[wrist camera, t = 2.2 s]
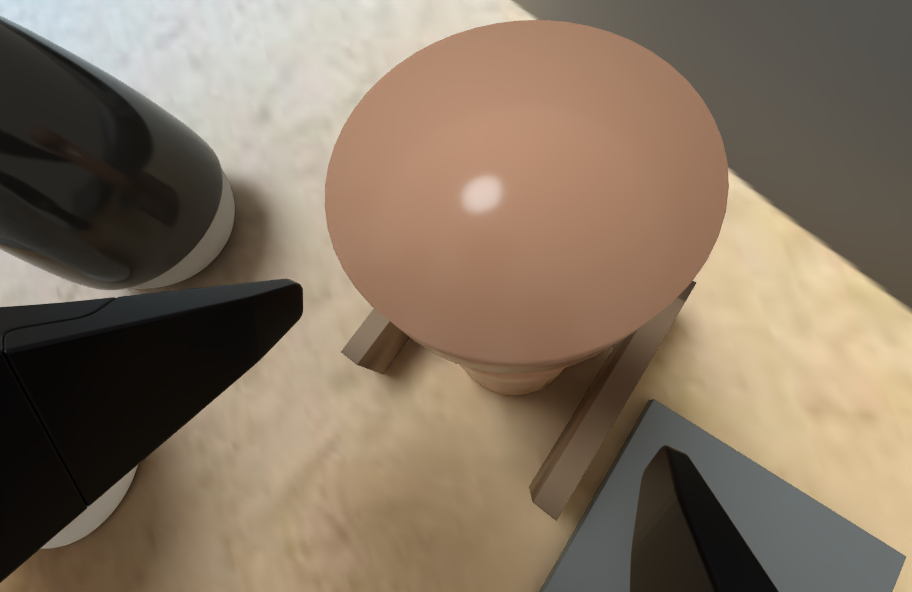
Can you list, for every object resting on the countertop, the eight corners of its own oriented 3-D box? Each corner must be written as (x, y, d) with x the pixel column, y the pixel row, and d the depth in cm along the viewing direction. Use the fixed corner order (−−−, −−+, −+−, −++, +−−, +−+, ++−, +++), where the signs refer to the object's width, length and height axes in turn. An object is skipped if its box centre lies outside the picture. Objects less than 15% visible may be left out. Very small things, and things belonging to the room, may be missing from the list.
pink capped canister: (533, 432, 18) (587, 462, 5) (422, 353, 20) (252, 222, 7) (605, 318, 19) (802, 98, 6) (494, 253, 21) (464, -18, 8)
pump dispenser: (148, 168, 27) (-257, -112, 13) (279, 168, 25) (-18, -157, 11) (92, 304, 24) (-519, 134, 10) (238, 314, 22) (-244, 125, 8)
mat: (784, 815, 13) (795, 832, 13) (534, 599, 16) (535, 606, 16) (891, 551, 15) (906, 556, 14) (649, 400, 18) (654, 399, 17)
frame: (548, 501, 17) (556, 520, 14) (368, 363, 20) (340, 352, 17) (664, 306, 19) (696, 282, 16) (484, 208, 22) (479, 171, 19)
